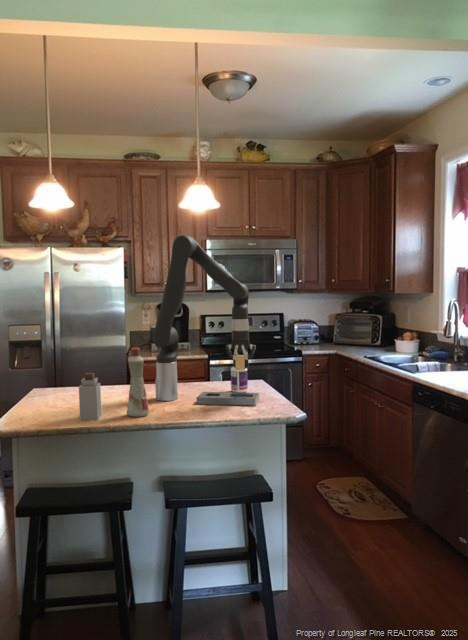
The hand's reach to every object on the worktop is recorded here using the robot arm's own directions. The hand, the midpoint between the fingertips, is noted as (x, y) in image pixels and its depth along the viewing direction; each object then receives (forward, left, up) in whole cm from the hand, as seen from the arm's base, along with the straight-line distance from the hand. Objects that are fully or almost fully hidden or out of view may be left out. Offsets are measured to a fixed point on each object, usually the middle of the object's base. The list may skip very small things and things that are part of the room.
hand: (241, 367), depth 225 cm
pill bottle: (-5, +22, -16) cm, 28 cm away
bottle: (-38, -26, -16) cm, 49 cm away
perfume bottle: (-55, -34, -16) cm, 66 cm away
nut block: (0, 0, -1) cm, 1 cm away
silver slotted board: (-6, +1, -15) cm, 17 cm away
